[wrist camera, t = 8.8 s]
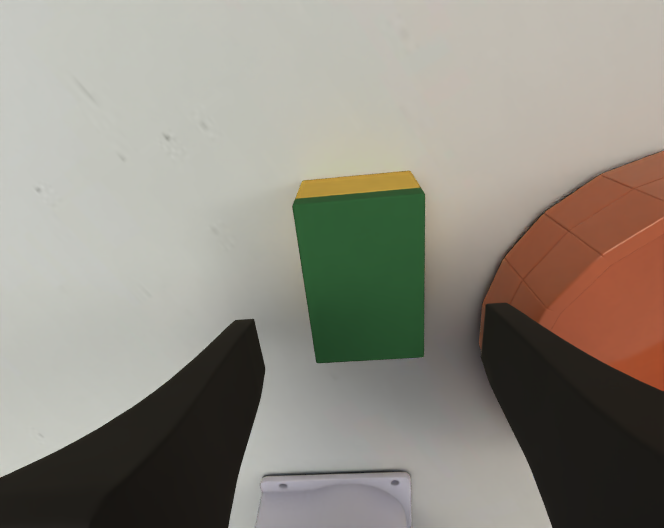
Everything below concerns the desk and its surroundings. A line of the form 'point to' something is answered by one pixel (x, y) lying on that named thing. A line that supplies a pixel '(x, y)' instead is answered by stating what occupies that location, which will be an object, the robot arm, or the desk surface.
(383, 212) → the dish sponge
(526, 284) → the bowl
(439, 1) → the desk surface
